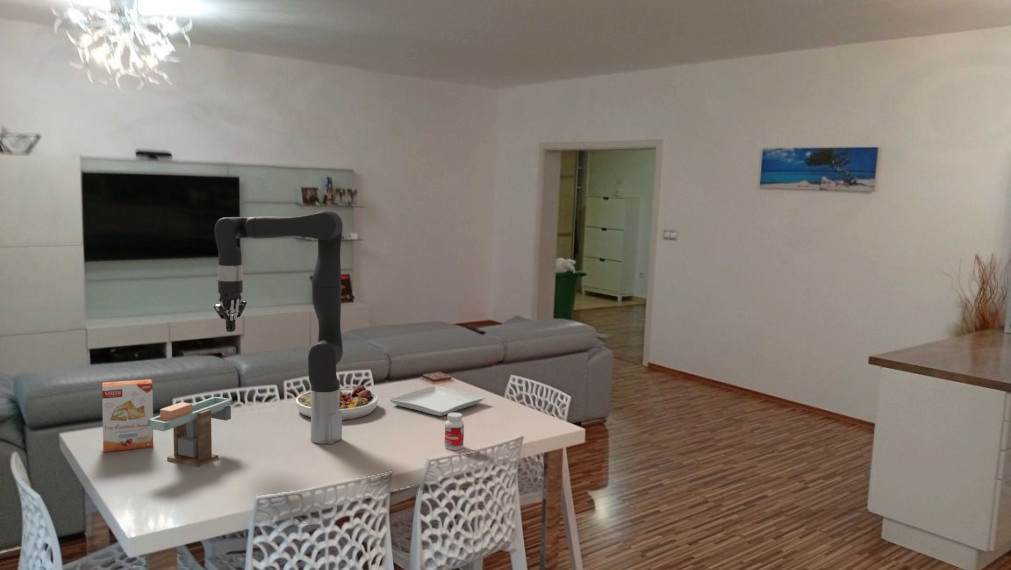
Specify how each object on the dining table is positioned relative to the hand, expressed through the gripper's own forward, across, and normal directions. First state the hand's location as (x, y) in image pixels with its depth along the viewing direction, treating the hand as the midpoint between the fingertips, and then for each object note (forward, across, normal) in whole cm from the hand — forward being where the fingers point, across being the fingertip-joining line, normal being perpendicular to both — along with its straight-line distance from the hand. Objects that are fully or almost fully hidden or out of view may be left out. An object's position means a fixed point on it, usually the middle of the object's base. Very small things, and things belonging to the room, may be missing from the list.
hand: (230, 331), depth 241 cm
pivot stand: (+35, -23, -6) cm, 42 cm away
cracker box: (+35, -24, +19) cm, 47 cm away
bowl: (+36, +40, -14) cm, 55 cm away
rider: (+21, -29, -6) cm, 36 cm away
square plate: (+36, +64, -44) cm, 85 cm away
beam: (+33, -23, -6) cm, 41 cm away
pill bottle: (+35, +23, -71) cm, 83 cm away
